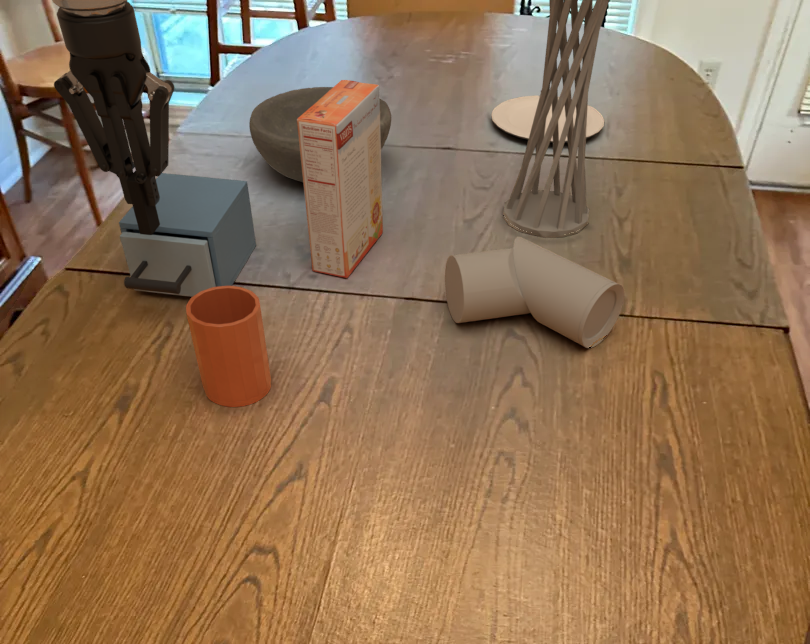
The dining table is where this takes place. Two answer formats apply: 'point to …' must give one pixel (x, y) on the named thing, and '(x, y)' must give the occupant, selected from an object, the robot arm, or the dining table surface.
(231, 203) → the blue-grey drawer box
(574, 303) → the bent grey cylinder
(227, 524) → the dining table surface
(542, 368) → the dining table surface
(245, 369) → the clay cup
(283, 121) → the bowl
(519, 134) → the plate
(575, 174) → the vase
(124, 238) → the drawer
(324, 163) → the cracker box
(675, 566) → the dining table surface
